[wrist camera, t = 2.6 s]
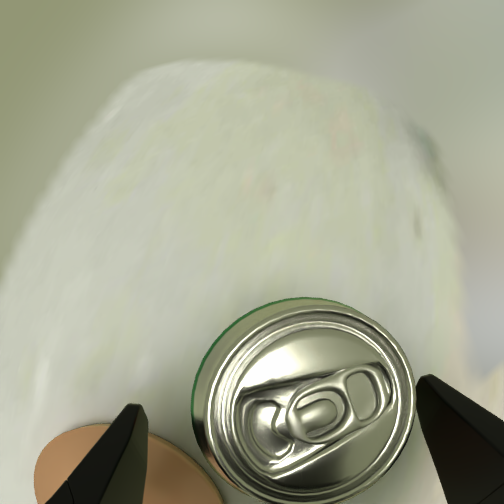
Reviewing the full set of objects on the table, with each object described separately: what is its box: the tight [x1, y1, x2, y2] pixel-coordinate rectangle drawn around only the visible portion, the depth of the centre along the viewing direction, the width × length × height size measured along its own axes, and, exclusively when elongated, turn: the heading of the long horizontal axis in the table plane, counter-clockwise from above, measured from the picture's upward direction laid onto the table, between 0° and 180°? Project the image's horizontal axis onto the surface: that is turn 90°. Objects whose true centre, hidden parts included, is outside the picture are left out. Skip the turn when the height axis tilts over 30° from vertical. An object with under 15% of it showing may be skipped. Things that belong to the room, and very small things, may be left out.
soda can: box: [191, 297, 416, 504], centre depth 11 cm, size 5×5×12 cm
